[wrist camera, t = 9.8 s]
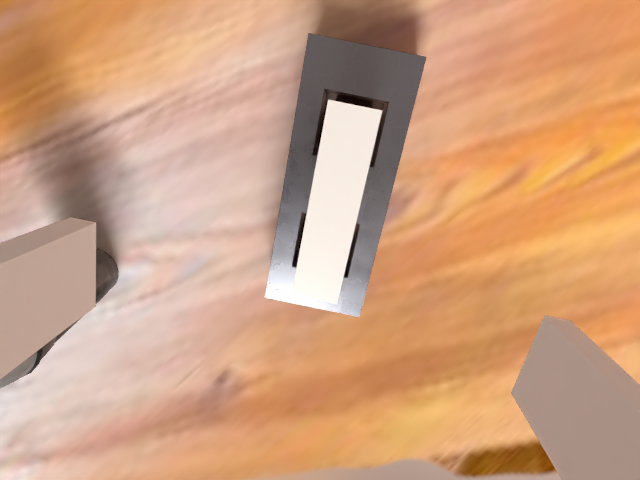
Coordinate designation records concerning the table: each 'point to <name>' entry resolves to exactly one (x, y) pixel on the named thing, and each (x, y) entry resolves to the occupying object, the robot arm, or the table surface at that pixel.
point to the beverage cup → (104, 283)
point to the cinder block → (317, 79)
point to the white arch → (335, 199)
